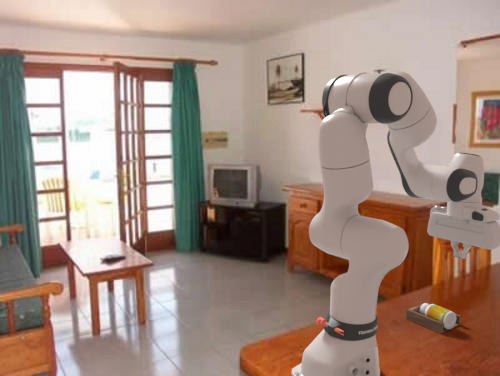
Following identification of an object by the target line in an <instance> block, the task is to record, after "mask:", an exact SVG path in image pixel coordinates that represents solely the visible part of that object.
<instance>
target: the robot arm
mask: <svg viewBox="0 0 500 376" xmlns="http://www.w3.org/2000/svg"><path fill="white" fill-rule="evenodd" d="M321 104H322V105H321V106H322V114H323V117H324V118H323V119H322V120H321V121H320V123H319V125H318V134H317V135H318V138H317V143H318V144H317V145H318V156H319V158H318V159H319V165H320V170H321V180H322V188H323V203H322V207H321V208H320V211H319V212H318V213H316V214H315V215H314V217H312V219H311V222H310V223H309V227H308V236H309V240H310V242H311V244H312V245H313V246H314V247H316V248H317V249H319V250H320V251H323V252H324V253H326V254H328V255H330V256H331V255H332V256H334V257H337V258H341V259H344V260H348V269H347V272H344V273H342V274H341V273H340V274H339V275H337V277H335V278H334V279H333V281H332V282H331V284H330V295H329V296H330V299H329V310H328V313H327V315H326V319H324V318H323V317H321V316H319V317H317V319H316V321H315V323H316V325H318V326H319V327H321V328H323V329H322V330H321V331H320V333H318V335H316V337H315V338H314V339H313V340H312V341H311V343H309V345H308V346H306V348H305V349H304V351H303V353H302V359H301V362H300V363H299V364H297V365H296V366H294V367H292V368H291V373H290V374H291V376H381V368H380V358H379V357H380V356H379V348H378V343H377V336H376V334H377V333H378V326H379V323H378V316H377V304H378V295H379V291H380V290H379V288H380V285H381V283H382V282H383V281H382V280H383V279H384V277H385V276H386V275H387V274H388V273H389V272H390V271H392V270H393V269H396V268H397V267H399V266H400V265H401V264H402V263H403V262H404V261H405V259H406V257H407V255H408V252H409V247H410V246H409V239H408V236H407V233H406V231H405V230H404V228H402V227H401V226H398V225H396V224H394V223H391V222H389V221H387V220H384V219H378V218H376V217H375V218H374V217H369V216H365V215H361V214H360V213H359V204H361V203H363V202H364V201H366V200H367V199H368V198H369V197H370V196H371V193H372V192H373V189H374V181H373V175H372V174H373V173H372V168H371V167H372V166H371V165H372V164H371V158H370V151H369V150H370V149H369V145H368V141H367V136H366V135H367V128H368V127H369V124H384V125H386V126H387V128H388V132H387V135H386V137H387V139H386V140H387V145H388V148H389V151H390V153H391V155H392V158H393V160H394V162H395V165H396V167H397V170H398V172H399V175H400V179H401V186H402V188H403V190H404V192H405V193H406V194H407V196H409V197H411V198H416V199H417V198H418V199H428V200H432V201H433V200H435V201H442V202H446V203H447V204H446V206H440V205H434V206H433V207H431V208H430V210H429V219H428V224H427V230H426V231H427V234H428V235H429V236H431V237H434V238H439V239H443V240H447V241H450V247H451V248H452V250H453V257H455V258H459V259H463V260H465V259H466V258H467V256H468V255H467V253H468V252H469V250H470V249H471V248H472V246H473V247H477V248H481V249H485V250H489V251H490V250H491V251H492V250H496V249H498V248H499V247H500V224H499V222H498V220H500V213H499V212H497V211H496V210H493V209H491V208H489V207H487V206H486V205H483V198H482V190H483V188H484V182H485V181H484V180H485V165H484V159H483V157H482V156H481V155H479V154H475V153H469V152H457V153H454V154H453V156H452V160H451V162H449V163H447V164H446V165H442V164H441V165H440V164H439V165H438V164H429V163H426V162H422V161H421V160H419V159H418V157H417V156H418V155H417V154H416V151H415V149H414V148H416V147H419V146H421V145H422V144H423V143H425V142H426V141H428V140H429V139H430V138H431V137H432V135H433V134H434V132H435V131H436V127H437V122H438V120H437V115H436V111H435V109H434V108H433V106H432V104H431V101H430V100H429V98H428V97H427V95H426V94H425V91H424V90H423V88H422V87H421V86H420V84H419V83H418V82H417V81H416V79H414V78H413V77H412V75H410V74H409V73H407V72H405V71H393V72H385V73H376V72H370V73H369V72H357V73H351V74H341V75H338V76H334V77H333V78H331V79H330V80H328V82H327V83H326V84H325V86H324V88H323V92H322V95H321ZM459 244H462V248H463V249H462V250H460V248H459V246H458V245H459Z"/></svg>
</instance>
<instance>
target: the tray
mask: <svg viewBox="0 0 500 376" xmlns="http://www.w3.org/2000/svg"><path fill="white" fill-rule="evenodd" d="M426 303H427V304H429V305H430V304H431V303H428V302H426ZM422 304H423V303H421V304H418V305H416V306H414V307H410V308H408V309H406V315H405V316H406V317H405V318H407V319H406V320H409V321H411V322H414V323H416V324H418V325H421V326H423V327H426V328H428V329H430V330H433V331H435V332H437V333H439V334H443V333H445V332H447V331H450V330H452V329H454V328H457V327H458V326H461V323H462V315H460V314H457V313H455V314H456V323H455V325H454V326H453V328H451V329H445V328H443V327H444V323H442V322H440V321H437V320H435V319H432V318H430V317H427V316H425V315H423V314H420V307H421V305H422Z"/></svg>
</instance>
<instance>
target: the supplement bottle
mask: <svg viewBox="0 0 500 376" xmlns="http://www.w3.org/2000/svg"><path fill="white" fill-rule="evenodd" d="M427 303H428V302H424V303H421V304H422V305H421V304H420V305H421V307H420V314H423V315H425V316H427V317H430V318H432V319H435V320H437V321H440V322H442V323H444V327H443V328H445V329H450V330H452V329H454V328H453V326H454V325H455V323H456V314H457V313H455V312H454V311H451V310H450V309H448V308H445V307H443V306H440V305H437V304H435V303H429V304H430V305H429V304H427ZM451 328H452V329H451Z"/></svg>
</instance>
